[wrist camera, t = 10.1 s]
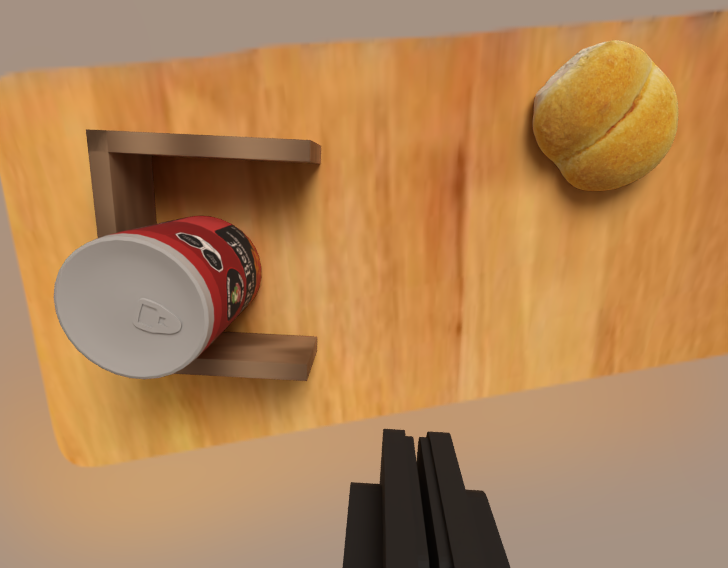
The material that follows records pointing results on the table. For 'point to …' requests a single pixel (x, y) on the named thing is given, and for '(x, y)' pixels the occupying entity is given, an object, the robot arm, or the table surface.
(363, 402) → the table surface
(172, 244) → the canned food
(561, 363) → the table surface
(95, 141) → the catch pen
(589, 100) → the bread roll
